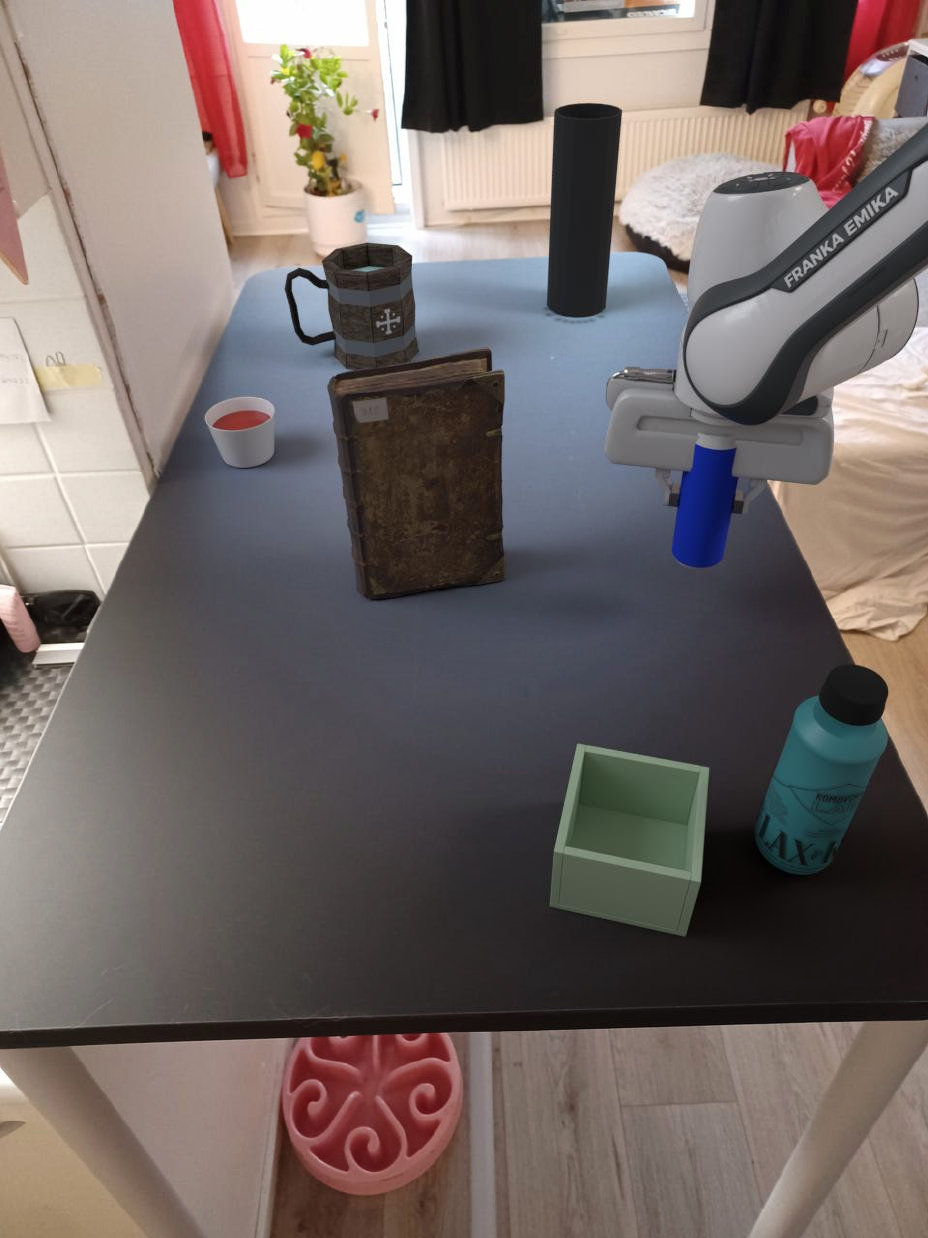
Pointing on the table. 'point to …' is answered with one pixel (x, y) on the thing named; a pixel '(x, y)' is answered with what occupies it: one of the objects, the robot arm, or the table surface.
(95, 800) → the table surface
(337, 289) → the mug
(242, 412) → the white cup
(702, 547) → the beverage can
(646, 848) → the bin
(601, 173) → the vase
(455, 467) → the book
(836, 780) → the beverage bottle
